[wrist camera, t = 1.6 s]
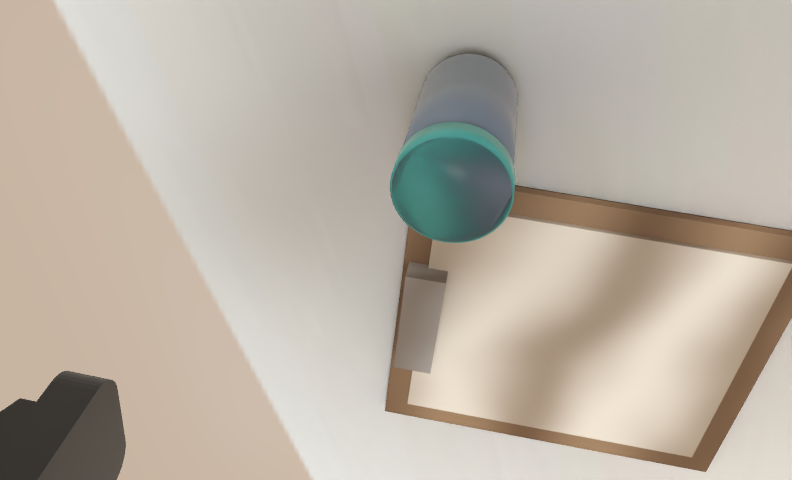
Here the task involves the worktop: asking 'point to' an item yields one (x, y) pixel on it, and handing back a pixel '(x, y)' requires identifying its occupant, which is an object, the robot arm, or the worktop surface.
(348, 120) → the worktop surface
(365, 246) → the worktop surface
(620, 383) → the clipboard
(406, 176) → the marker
